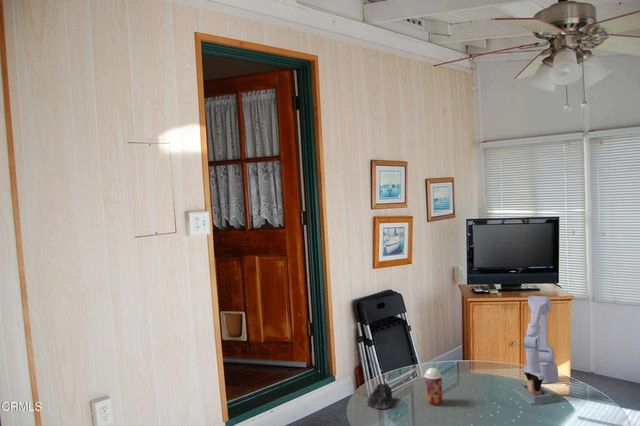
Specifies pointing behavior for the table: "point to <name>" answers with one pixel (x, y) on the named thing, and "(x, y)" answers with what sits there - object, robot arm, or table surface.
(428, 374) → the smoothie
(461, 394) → the table surface
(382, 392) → the crystal cluster
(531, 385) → the wooden block
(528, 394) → the well board
